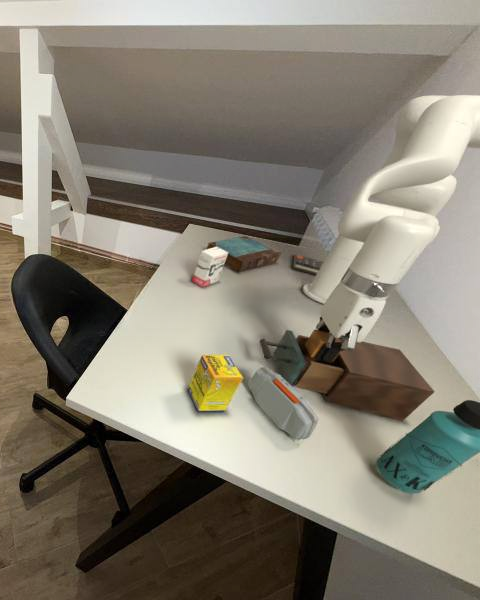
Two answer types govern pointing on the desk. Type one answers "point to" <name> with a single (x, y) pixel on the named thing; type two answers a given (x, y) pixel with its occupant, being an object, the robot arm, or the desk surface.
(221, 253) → the ink box
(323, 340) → the block
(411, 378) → the cabinet
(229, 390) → the supplement box
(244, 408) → the desk surface
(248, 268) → the book
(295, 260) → the calculator
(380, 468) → the beverage bottle
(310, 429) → the gray case
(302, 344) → the drawer
